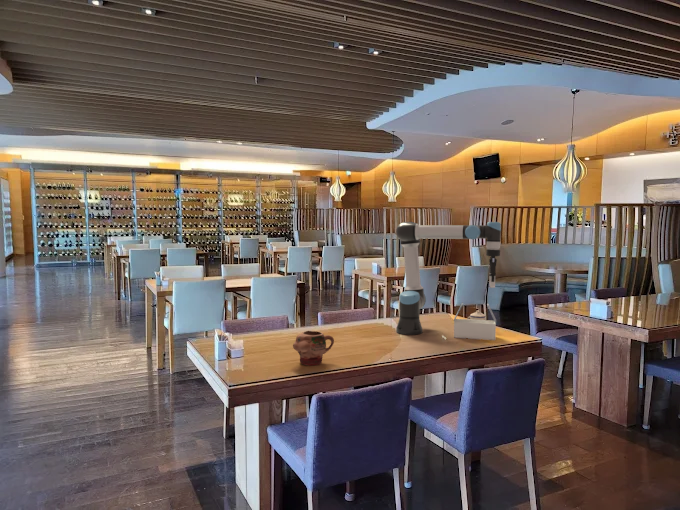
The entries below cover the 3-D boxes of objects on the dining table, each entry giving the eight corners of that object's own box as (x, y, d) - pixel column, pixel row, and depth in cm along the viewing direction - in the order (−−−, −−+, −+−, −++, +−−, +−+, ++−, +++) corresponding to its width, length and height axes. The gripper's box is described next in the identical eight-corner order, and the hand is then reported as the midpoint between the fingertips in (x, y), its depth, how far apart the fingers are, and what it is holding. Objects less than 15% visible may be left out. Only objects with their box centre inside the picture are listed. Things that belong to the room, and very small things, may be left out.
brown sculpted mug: (326, 356, 230) (326, 327, 230) (339, 362, 220) (339, 332, 219) (288, 362, 220) (288, 332, 219) (300, 369, 210) (300, 337, 209)
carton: (453, 337, 267) (454, 321, 266) (455, 334, 275) (455, 318, 275) (495, 340, 260) (495, 324, 260) (495, 336, 269) (495, 320, 268)
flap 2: (495, 320, 268) (496, 320, 268) (495, 323, 260) (496, 323, 259) (487, 303, 269) (488, 303, 269) (487, 306, 260) (488, 305, 260)
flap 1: (454, 321, 266) (453, 320, 266) (455, 318, 274) (454, 317, 275) (462, 305, 264) (461, 304, 264) (463, 302, 273) (462, 302, 273)
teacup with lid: (488, 330, 285) (489, 310, 284) (479, 332, 280) (479, 312, 279) (472, 326, 295) (472, 308, 294) (462, 328, 289) (462, 309, 289)
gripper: (501, 250, 260) (500, 289, 262) (499, 248, 284) (497, 283, 286) (486, 250, 262) (485, 288, 264) (486, 247, 286) (484, 283, 288)
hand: (492, 286), depth 275 cm, fingers open, 13 cm apart
